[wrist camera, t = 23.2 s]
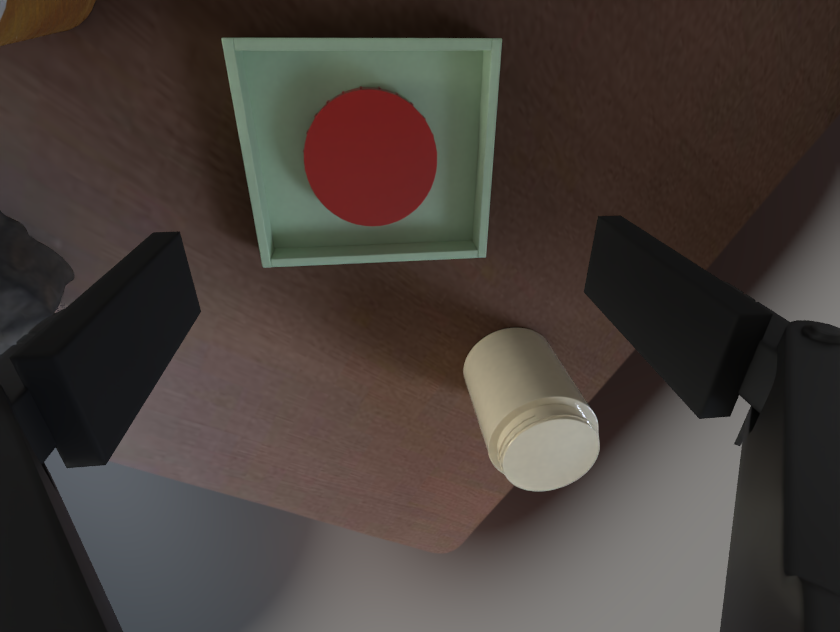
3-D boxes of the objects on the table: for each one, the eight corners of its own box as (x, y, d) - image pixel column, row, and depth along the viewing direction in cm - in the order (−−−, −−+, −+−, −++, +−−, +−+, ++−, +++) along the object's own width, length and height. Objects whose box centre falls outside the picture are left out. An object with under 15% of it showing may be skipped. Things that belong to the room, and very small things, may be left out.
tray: (491, 38, 28) (502, 38, 26) (478, 244, 35) (486, 257, 33) (231, 38, 27) (220, 37, 25) (268, 253, 33) (262, 268, 31)
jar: (559, 324, 39) (619, 406, 30) (546, 398, 43) (596, 491, 34) (465, 330, 39) (498, 416, 30) (461, 405, 43) (489, 502, 34)
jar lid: (278, 130, 29) (274, 135, 28) (394, 58, 28) (397, 58, 26) (350, 239, 33) (350, 249, 32) (455, 180, 32) (460, 187, 30)
